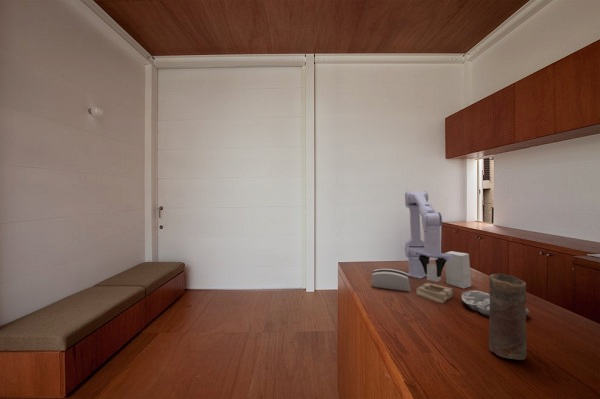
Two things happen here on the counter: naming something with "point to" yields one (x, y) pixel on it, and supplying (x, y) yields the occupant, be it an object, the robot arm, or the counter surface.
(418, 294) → the well block
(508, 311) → the brown tall cylinder
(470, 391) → the counter surface
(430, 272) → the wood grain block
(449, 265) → the skincare box
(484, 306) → the brain slice
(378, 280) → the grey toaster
